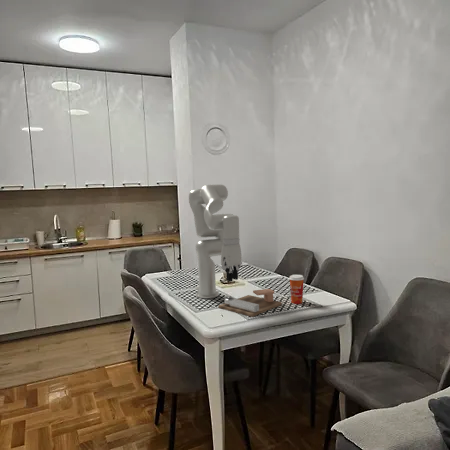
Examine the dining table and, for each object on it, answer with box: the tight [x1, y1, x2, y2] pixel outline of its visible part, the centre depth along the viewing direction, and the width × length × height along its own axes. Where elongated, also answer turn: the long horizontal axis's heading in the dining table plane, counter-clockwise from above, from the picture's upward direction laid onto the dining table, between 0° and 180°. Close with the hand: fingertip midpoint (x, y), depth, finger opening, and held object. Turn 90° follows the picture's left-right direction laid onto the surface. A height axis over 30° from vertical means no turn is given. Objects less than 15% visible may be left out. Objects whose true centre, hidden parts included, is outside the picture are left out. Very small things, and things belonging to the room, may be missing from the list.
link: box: [224, 296, 259, 312], centre depth 198 cm, size 20×5×4 cm, turn 47°
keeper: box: [252, 288, 275, 302], centre depth 208 cm, size 10×6×6 cm, turn 107°
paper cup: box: [288, 274, 305, 305], centre depth 208 cm, size 8×8×14 cm
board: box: [217, 294, 282, 318], centre depth 204 cm, size 22×24×1 cm
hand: (232, 279), depth 190 cm, fingers open, 3 cm apart
